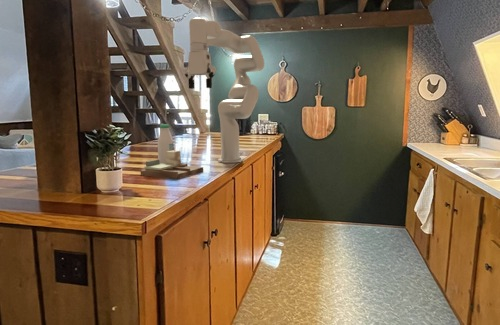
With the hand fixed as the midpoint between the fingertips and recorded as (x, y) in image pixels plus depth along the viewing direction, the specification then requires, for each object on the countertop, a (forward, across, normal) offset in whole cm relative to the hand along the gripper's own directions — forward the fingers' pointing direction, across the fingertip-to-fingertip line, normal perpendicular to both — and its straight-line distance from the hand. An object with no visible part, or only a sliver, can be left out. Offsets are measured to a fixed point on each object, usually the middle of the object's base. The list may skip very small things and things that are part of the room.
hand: (200, 88), depth 160 cm
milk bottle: (+37, +23, -1) cm, 44 cm away
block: (+35, +9, +10) cm, 37 cm away
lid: (+34, +9, +19) cm, 40 cm away
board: (+37, +6, +14) cm, 40 cm away
